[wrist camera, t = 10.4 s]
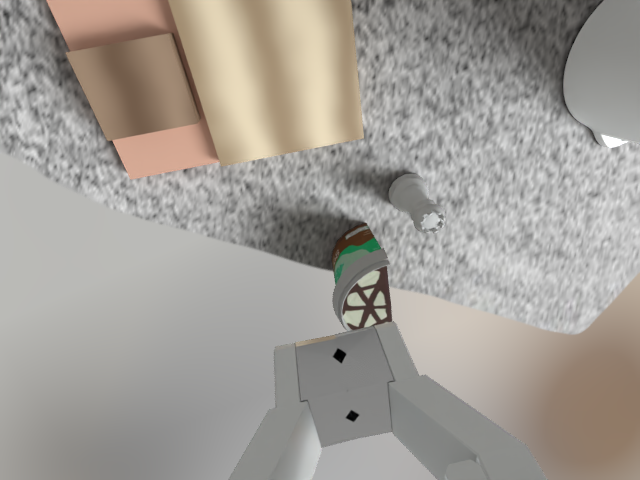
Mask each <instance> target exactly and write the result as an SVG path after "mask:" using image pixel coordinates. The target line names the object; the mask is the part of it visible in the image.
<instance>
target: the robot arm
mask: <svg viewBox="0 0 640 480" xmlns="http://www.w3.org/2000/svg"><path fill="white" fill-rule="evenodd" d="M563 90H564V97H565V102H566V105H567V107H568V109H569V111H570V113H571V114H572V115H573V117H574V118H575V119H576V120H577V121H579V122H580V123H582V124H584V125H585V126H587V127H589V128H590V129H591V130H592V131H593V134H594V136H595V138H596V140H597V142H598V143H599V144H600V145H601V146H604V147H608V148H613V147H616V146H619V145H621V144H624V143H627V142H632V143H636V144H640V0H604V1H603V2H602V3H601V4H600V5H599V6H598V7H597V8H596V10H595V11H594V12H593V13H592V14H591V16H590V17H589V18H588V20H587V21H586V23H585V24H584V26H583V27H582V29H581V30H580V32H579V34H578V36H577V38H576V40H575V42H574V44H573V46H572V48H571V51H570V53H569V56H568V59H567V63H566V67H565V72H564V81H563ZM274 373H275V405H276V408H272V409H269V411H268V412H267V414H266V416H265V418H264V419H263V421H262V423H261V424H260V426H259V428H258V429H257V431H256V433H255V435H254V437H253V438H252V440H251V442H250V443H249V445H248V447H247V448H246V450H245V452H244V454H243V455H242V457H241V459H240V461H239V463H238V464H237V466H236V467H235V469H234V471H233V473H232V474H231V476H230V478H229V480H312V477H313V474H314V471H315V469H316V466H317V463H318V460H319V457H320V454H321V451H322V447H326V446H330V445H334V444H337V443H342V442H346V441H349V440H353V439H357V438H362V437H367V436H373V435H378V434H383V433H388V432H393V434H394V435H395V436H396V437H397V438H398V439H399V440H400V442H401V443H402V444H403V445H404V446H406V448H407V449H408V450H409V451H410V452H411V453H412V454H413V455H414V456H415V457H416V458H417V459H418V460H419V461H420V462H421V463H422V464H423V465H424V466H425V467H426V468H427V469H428V470H429V471H430V472H431V473H432V474H433V475H434V476H435V478H436V479H437V480H548V479H547V478H546V476H545V474H544V473H543V471H542V469H541V468H540V466H539V465H538V463H537V461H536V460H535V458H534V457H533V455H532V453H531V452H530V450H529V448H528V447H527V445H526V444H524V443H523V442H521V441H520V440H519V439H517V438H516V437H514V436H513V435H511V434H510V433H508V432H507V431H506V430H504V429H503V428H501V427H500V426H498V425H497V424H496V423H494V422H493V421H491V420H490V419H488V418H487V417H486V416H484V415H482V414H481V413H480V412H478V411H477V410H476V409H474V408H473V407H471V406H470V405H468V404H467V403H465V402H464V401H463V400H461V399H460V398H458V397H457V396H455V395H454V394H453V393H451V392H450V391H448V390H447V389H445V388H444V387H443V386H441V385H440V384H438V383H437V382H435V381H434V380H432V379H431V378H430V377H428V376H427V375H422V376H419V374H418V372H417V369H416V367H415V365H414V363H413V360H412V358H411V356H410V354H409V351H408V349H407V347H406V344H405V342H404V340H403V338H402V335H401V333H400V331H399V329H398V326H397V324H396V323H395V322H394V321H393V322H388V323H384V324H379V325H375V326H370V327H365V328H361V329H356V330H352V331H348V332H343V333H339V334H335V335H332V336H327V337H322V338H316V339H311V340H306V341H300V342H296V343H292V344H286V345H281V346H276V347H275V350H274Z"/></svg>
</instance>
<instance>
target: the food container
mask: <svg viewBox="0 0 640 480" xmlns="http://www.w3.org/2000/svg"><path fill="white" fill-rule="evenodd" d="M332 265H333V271H334V278H335V284H336V286H335V289H334V292H333V308H334V311H335V314H336V315H337V317H338V319H339V320H340V322H341V324H342V325H343V327H344V328H345V329H346V330H347V331H352V330H356V329H361V328H365V327H370V326H375V325H379V324H384V323H388V322H392V314H391V301H390V293H389V284H388V274H387V266H388V265H390V263H389V261H388V257H387V255H386V252H385V250H384V248H383V249H381V247H380V246H379V244H378V242H377V240H376V239H375V237H374V235H373V234H372V232H371V230H370V229H369V227H368V225H367V223H364V224H361V225H358V226H356V227H354V228H352V229H351V230H349V231H347V232H346V233H345V234H344V235H343V236H342V237H341V238H340V239H339V240H338V241H337V243H336V245H335V247H334V249H333V253H332Z"/></svg>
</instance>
